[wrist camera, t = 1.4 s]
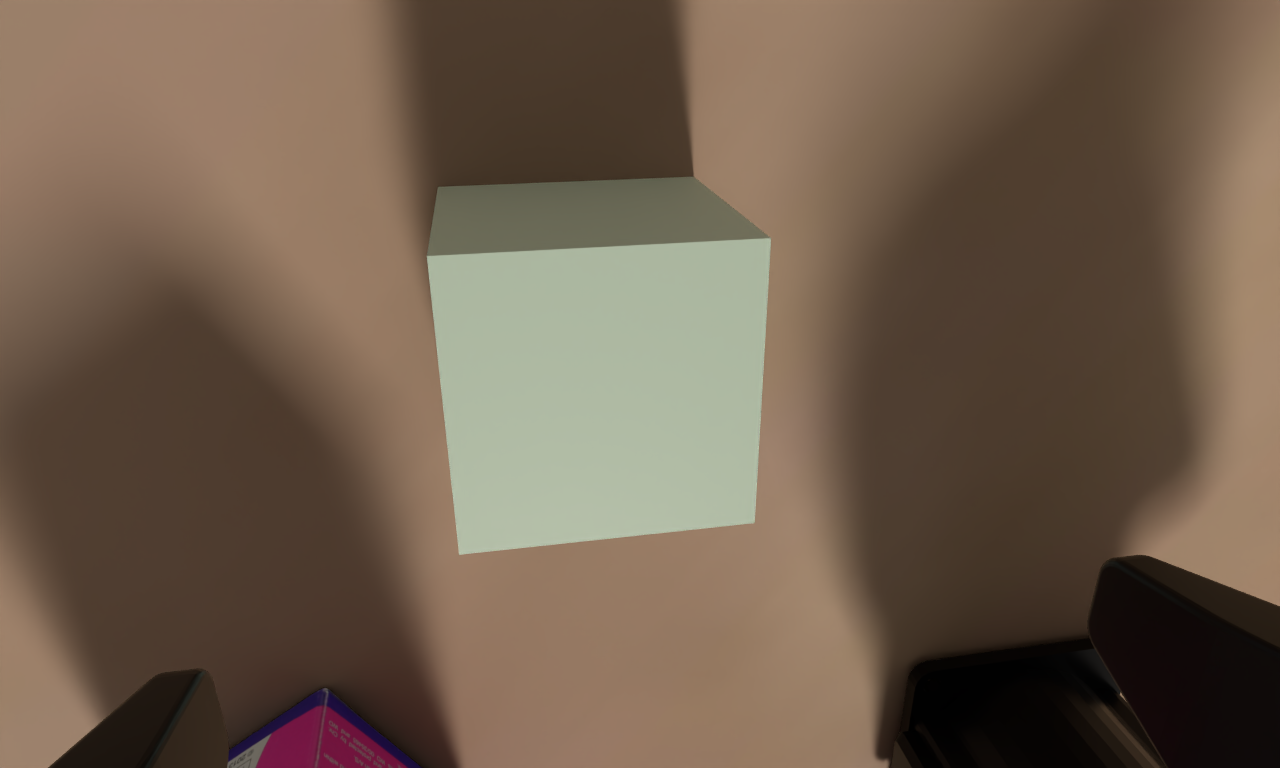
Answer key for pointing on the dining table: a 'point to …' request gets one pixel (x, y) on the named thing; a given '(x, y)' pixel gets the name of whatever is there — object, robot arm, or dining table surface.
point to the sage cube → (597, 358)
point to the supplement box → (318, 740)
